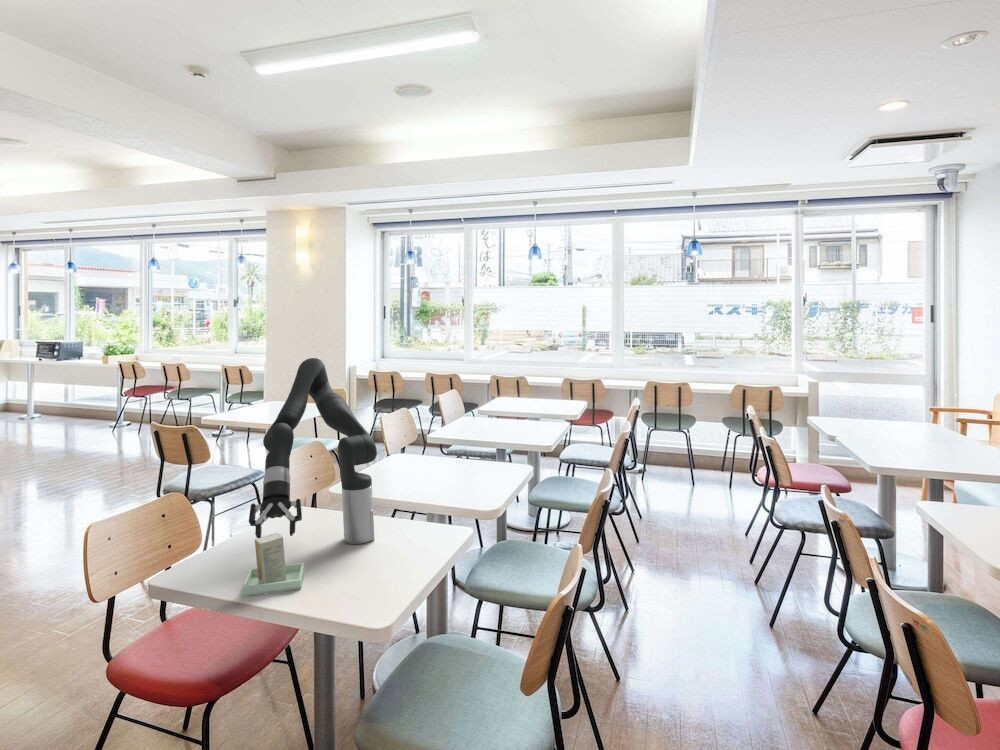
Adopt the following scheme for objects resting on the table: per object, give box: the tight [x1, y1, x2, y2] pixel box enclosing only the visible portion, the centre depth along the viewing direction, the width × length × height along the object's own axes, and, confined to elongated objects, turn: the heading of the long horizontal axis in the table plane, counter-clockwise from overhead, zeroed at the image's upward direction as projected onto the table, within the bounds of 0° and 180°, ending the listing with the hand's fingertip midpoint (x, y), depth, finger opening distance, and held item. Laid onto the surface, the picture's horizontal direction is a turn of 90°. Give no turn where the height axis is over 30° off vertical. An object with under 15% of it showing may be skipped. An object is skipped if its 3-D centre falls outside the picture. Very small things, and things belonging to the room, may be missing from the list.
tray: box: [242, 562, 305, 597], centre depth 151 cm, size 14×11×2 cm
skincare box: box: [254, 532, 287, 584], centre depth 150 cm, size 6×4×12 cm
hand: (275, 536), depth 163 cm, fingers open, 8 cm apart
